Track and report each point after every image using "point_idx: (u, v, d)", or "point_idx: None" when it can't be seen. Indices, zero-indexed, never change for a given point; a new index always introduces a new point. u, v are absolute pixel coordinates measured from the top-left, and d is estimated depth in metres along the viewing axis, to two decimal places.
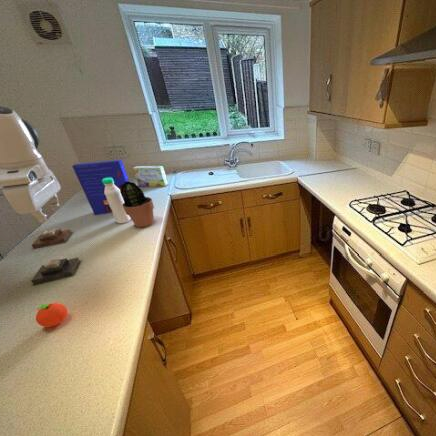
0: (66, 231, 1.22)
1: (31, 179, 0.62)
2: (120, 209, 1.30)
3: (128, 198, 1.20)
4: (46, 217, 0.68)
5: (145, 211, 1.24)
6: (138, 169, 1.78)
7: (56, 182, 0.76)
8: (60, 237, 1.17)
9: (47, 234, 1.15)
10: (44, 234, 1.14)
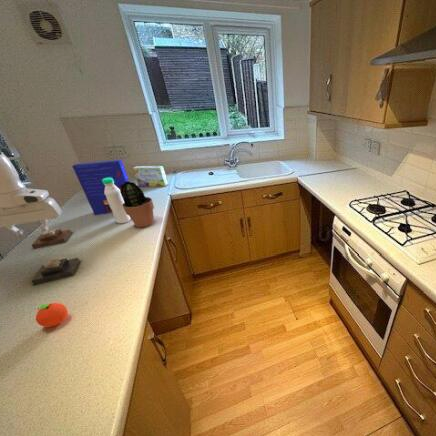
0: (66, 231, 1.22)
1: None
2: (120, 209, 1.30)
3: (128, 198, 1.20)
4: None
5: (145, 211, 1.24)
6: (138, 169, 1.78)
7: None
8: (60, 237, 1.17)
9: (47, 234, 1.15)
10: (44, 234, 1.14)
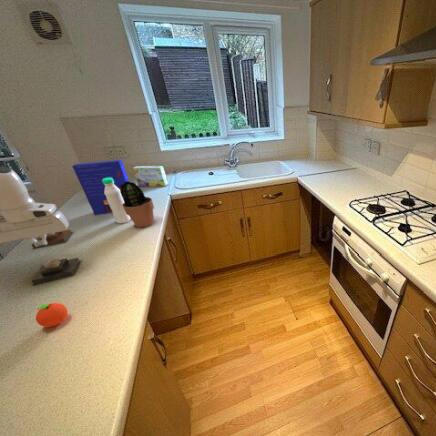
0: (66, 231, 1.22)
1: None
2: (120, 209, 1.30)
3: (128, 198, 1.20)
4: None
5: (145, 211, 1.24)
6: (138, 169, 1.78)
7: None
8: (60, 237, 1.17)
9: (47, 234, 1.15)
10: None
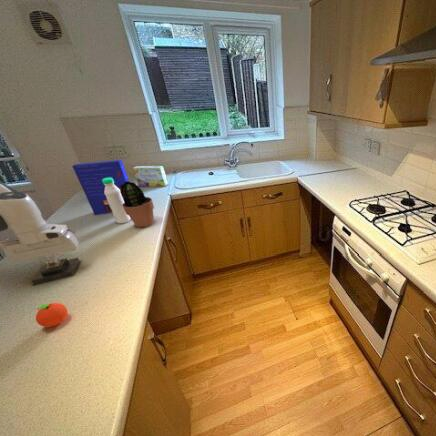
0: None
1: None
2: (120, 209, 1.30)
3: (128, 198, 1.20)
4: None
5: (145, 211, 1.24)
6: (138, 169, 1.78)
7: None
8: None
9: None
10: None
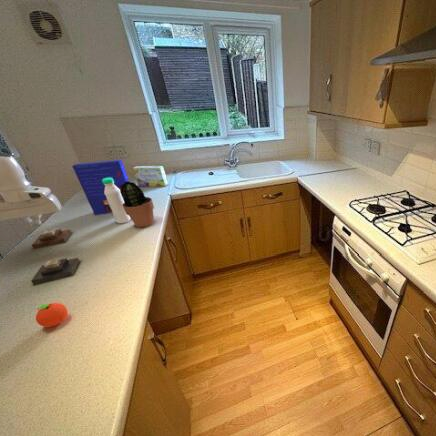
0: (66, 231, 1.22)
1: None
2: (120, 209, 1.30)
3: (128, 198, 1.20)
4: None
5: (145, 211, 1.24)
6: (138, 169, 1.78)
7: None
8: (60, 237, 1.17)
9: (47, 234, 1.15)
10: (44, 234, 1.14)
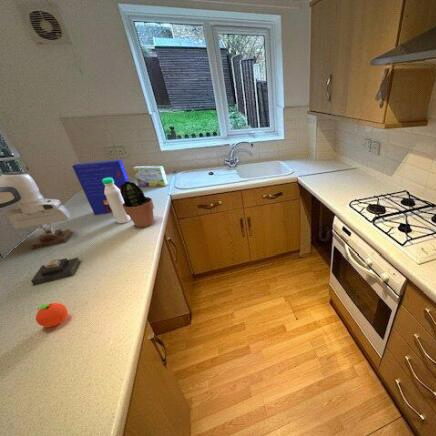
0: (66, 231, 1.22)
1: None
2: (120, 209, 1.30)
3: (128, 198, 1.20)
4: None
5: (145, 211, 1.24)
6: (138, 169, 1.78)
7: None
8: (60, 237, 1.17)
9: (47, 234, 1.15)
10: (44, 234, 1.15)
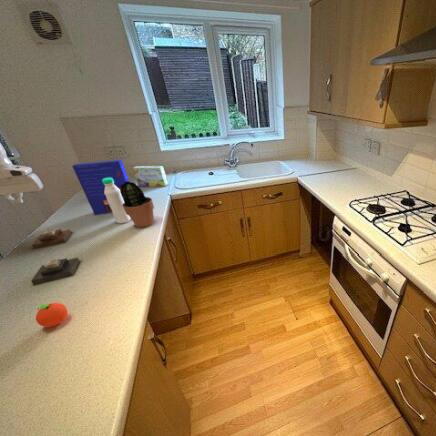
0: (66, 231, 1.22)
1: None
2: (120, 209, 1.30)
3: (128, 198, 1.20)
4: None
5: (145, 211, 1.24)
6: (138, 169, 1.78)
7: None
8: (60, 237, 1.17)
9: (47, 234, 1.15)
10: (44, 234, 1.14)
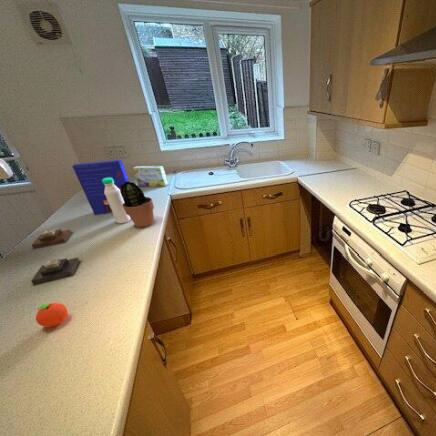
0: (66, 231, 1.22)
1: None
2: (120, 209, 1.30)
3: (128, 198, 1.20)
4: None
5: (145, 211, 1.24)
6: (138, 169, 1.78)
7: None
8: (60, 237, 1.17)
9: (47, 234, 1.15)
10: (44, 234, 1.14)
